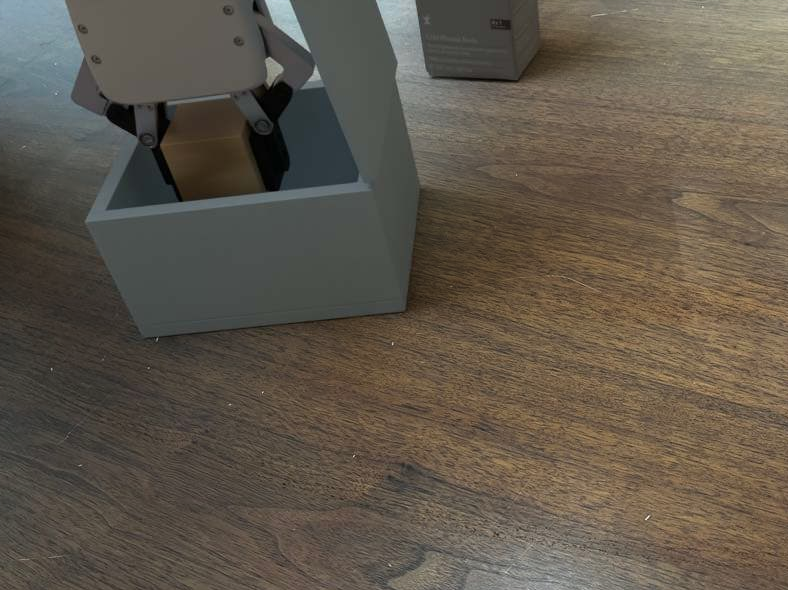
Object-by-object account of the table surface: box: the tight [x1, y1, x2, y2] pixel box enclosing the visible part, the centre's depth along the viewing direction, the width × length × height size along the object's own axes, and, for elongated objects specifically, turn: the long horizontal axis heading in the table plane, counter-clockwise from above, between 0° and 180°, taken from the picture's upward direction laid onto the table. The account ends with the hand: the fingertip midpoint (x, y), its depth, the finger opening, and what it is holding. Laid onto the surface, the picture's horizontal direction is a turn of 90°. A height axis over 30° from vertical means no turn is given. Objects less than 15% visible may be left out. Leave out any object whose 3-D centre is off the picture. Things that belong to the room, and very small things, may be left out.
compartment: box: [84, 78, 422, 339], centre depth 70 cm, size 17×14×9 cm
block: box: [160, 97, 269, 202], centre depth 68 cm, size 5×5×5 cm
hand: (232, 183), depth 69 cm, fingers closed on block, 5 cm apart
